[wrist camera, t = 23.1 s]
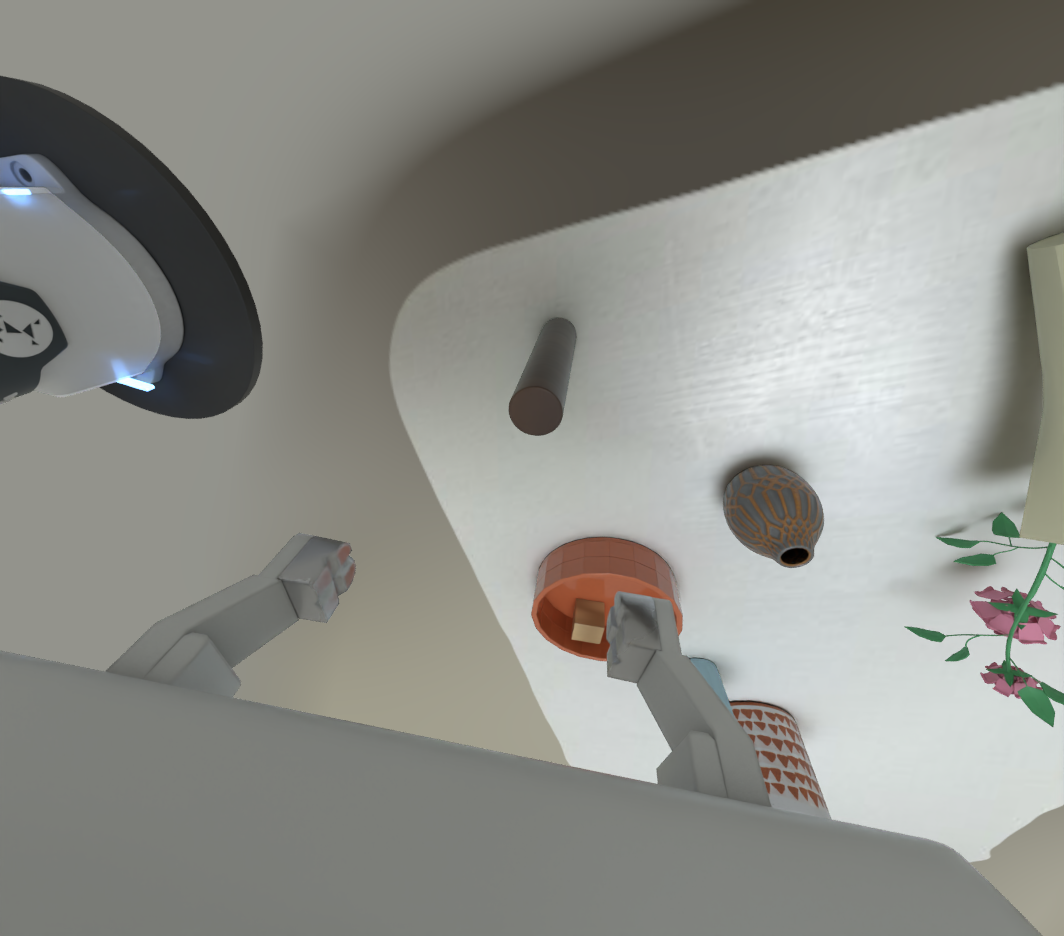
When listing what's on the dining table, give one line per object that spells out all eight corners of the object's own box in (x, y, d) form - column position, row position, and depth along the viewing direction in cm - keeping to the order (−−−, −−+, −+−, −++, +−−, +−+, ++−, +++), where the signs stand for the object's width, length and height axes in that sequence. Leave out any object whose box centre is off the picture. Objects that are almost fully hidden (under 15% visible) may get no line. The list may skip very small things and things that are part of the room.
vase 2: (776, 693, 54) (817, 810, 44) (807, 734, 60) (849, 847, 49) (683, 707, 60) (700, 812, 50) (719, 743, 66) (740, 845, 56)
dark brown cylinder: (538, 350, 31) (506, 431, 20) (543, 314, 29) (510, 382, 19) (573, 356, 31) (558, 440, 20) (579, 320, 29) (567, 391, 19)
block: (572, 614, 50) (571, 639, 47) (576, 597, 47) (574, 623, 45) (600, 618, 49) (599, 644, 46) (604, 602, 47) (604, 628, 44)
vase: (706, 508, 37) (730, 581, 30) (728, 449, 33) (762, 517, 26) (781, 516, 37) (824, 593, 30) (813, 456, 33) (872, 529, 26)
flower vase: (1014, 229, 28) (1013, 603, 38) (850, 295, 29) (892, 644, 39) (1353, 148, 17) (1224, 709, 27) (1069, 259, 17) (1048, 764, 28)
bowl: (531, 610, 51) (525, 646, 47) (546, 525, 42) (541, 560, 38) (651, 634, 51) (656, 672, 47) (696, 552, 41) (706, 591, 37)
